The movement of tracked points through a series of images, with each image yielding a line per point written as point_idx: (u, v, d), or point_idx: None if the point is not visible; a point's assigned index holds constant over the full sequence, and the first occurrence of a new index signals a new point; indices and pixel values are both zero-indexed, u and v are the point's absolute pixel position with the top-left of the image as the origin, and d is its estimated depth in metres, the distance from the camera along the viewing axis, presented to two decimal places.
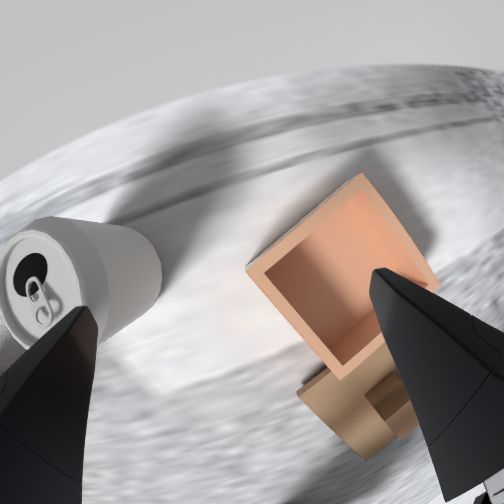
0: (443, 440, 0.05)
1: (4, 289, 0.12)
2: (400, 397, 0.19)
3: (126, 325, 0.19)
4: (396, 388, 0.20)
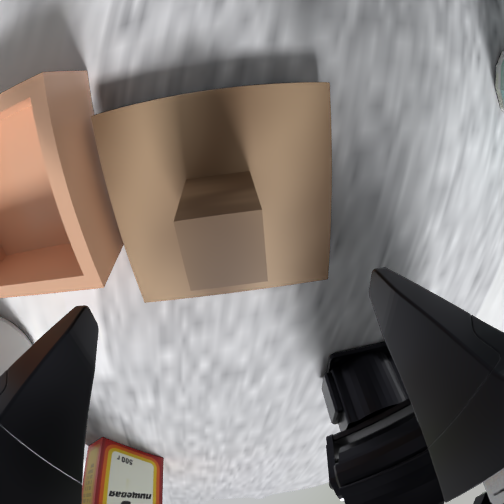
0: (443, 440, 0.05)
1: None
2: None
3: None
4: None
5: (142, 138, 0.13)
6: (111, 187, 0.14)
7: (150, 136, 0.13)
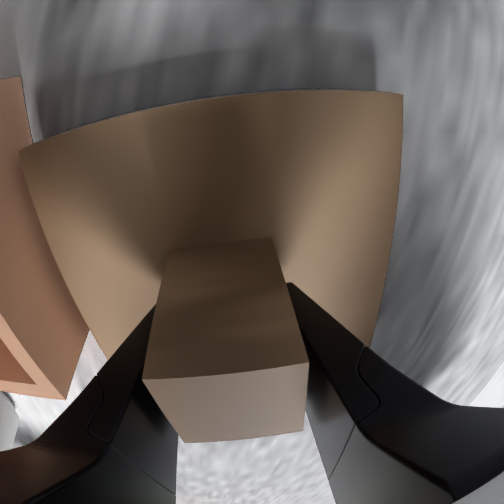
0: (335, 478, 0.05)
1: None
2: None
3: None
4: None
5: (94, 185, 0.07)
6: (60, 257, 0.08)
7: (106, 182, 0.07)
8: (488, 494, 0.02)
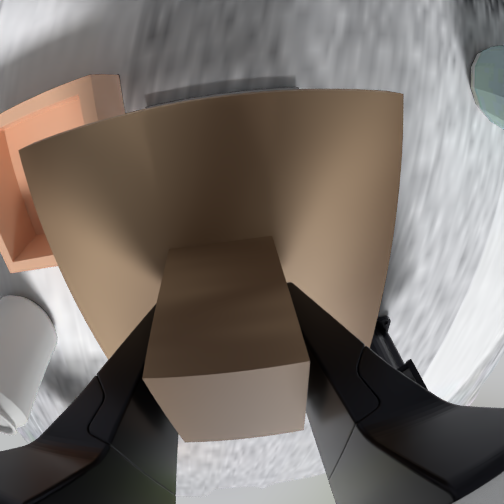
0: (335, 478, 0.05)
1: None
2: None
3: (39, 357, 0.20)
4: None
5: (94, 184, 0.07)
6: (60, 257, 0.08)
7: (107, 181, 0.07)
8: (488, 494, 0.02)
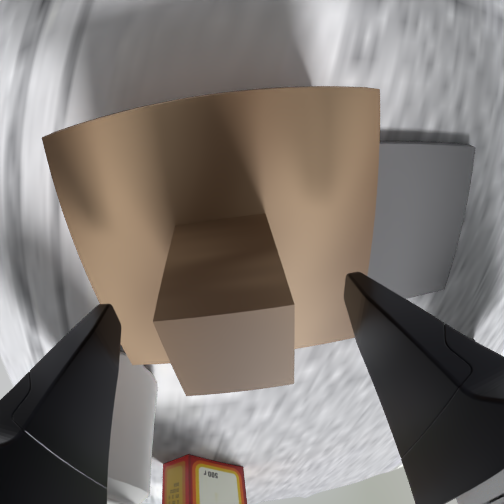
0: (415, 452, 0.05)
1: None
2: None
3: (151, 423, 0.18)
4: None
5: (111, 167, 0.09)
6: (76, 234, 0.10)
7: (122, 164, 0.09)
8: None
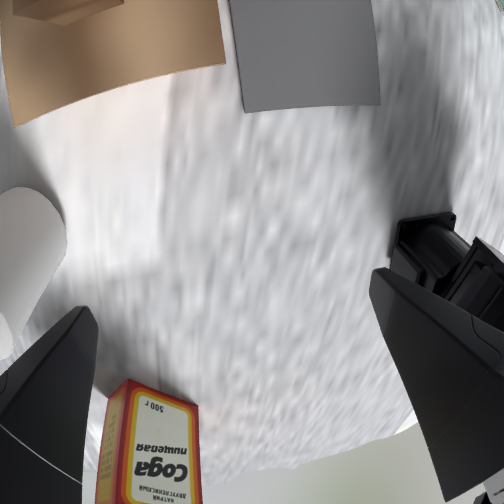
0: (443, 440, 0.05)
1: None
2: None
3: (41, 255, 0.16)
4: None
5: None
6: (2, 6, 0.07)
7: None
8: None
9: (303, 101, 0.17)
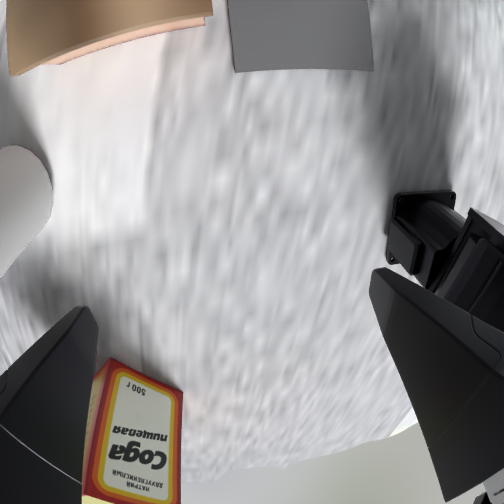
0: (443, 440, 0.05)
1: None
2: None
3: (23, 207, 0.15)
4: None
5: None
6: None
7: None
8: None
9: (294, 63, 0.16)
